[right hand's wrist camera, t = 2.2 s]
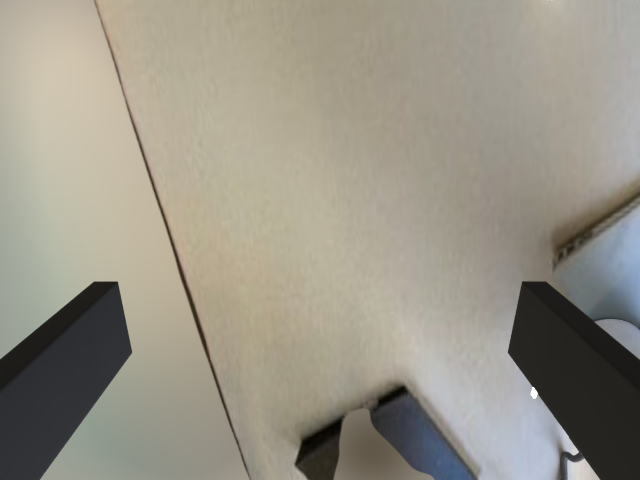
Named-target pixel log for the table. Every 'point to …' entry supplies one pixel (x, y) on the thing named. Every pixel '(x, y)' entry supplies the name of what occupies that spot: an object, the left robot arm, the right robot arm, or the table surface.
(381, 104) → the table surface
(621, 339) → the left robot arm
